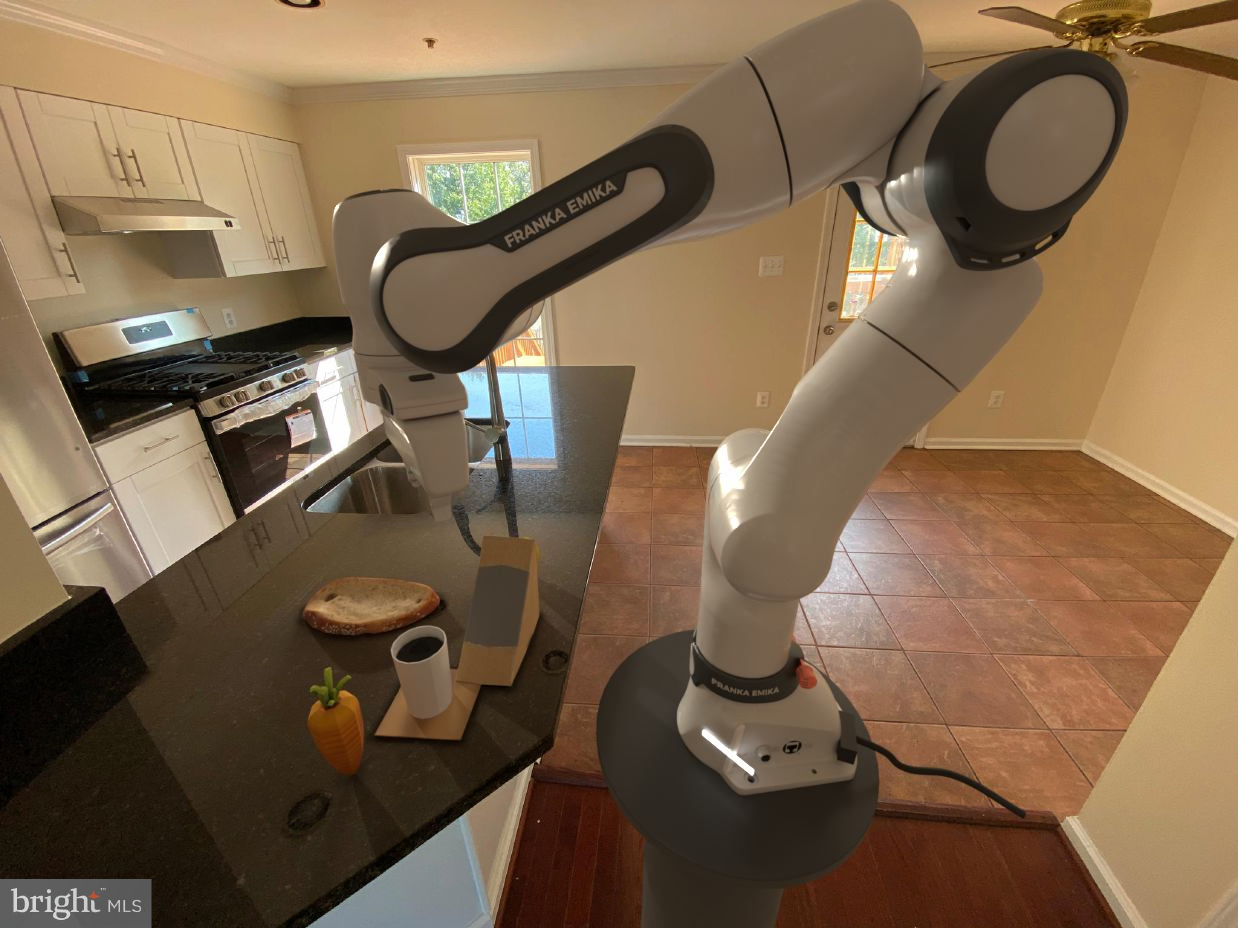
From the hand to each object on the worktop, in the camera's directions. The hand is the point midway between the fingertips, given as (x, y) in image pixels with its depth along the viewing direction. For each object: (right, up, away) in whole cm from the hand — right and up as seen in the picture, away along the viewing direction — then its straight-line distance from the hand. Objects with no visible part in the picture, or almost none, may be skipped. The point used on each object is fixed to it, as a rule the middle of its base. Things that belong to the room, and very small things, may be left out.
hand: (429, 500), depth 55 cm
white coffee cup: (-5, -28, +13) cm, 31 cm away
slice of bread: (-21, -21, +30) cm, 42 cm away
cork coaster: (-4, -28, +13) cm, 31 cm away
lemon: (+3, -17, +39) cm, 43 cm away
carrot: (-10, -32, +4) cm, 34 cm away
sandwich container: (+3, -24, +22) cm, 33 cm away
